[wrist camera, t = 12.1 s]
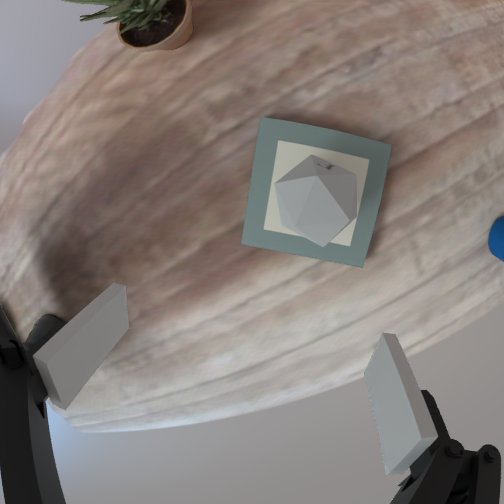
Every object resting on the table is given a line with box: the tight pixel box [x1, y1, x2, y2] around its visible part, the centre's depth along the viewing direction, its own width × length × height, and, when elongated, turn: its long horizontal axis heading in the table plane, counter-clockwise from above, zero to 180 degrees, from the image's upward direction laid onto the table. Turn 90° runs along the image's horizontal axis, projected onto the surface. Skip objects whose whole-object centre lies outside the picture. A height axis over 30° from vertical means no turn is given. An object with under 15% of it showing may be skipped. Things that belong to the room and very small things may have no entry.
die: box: [274, 154, 357, 247], centre depth 30 cm, size 8×9×10 cm
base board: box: [241, 117, 392, 268], centre depth 35 cm, size 16×16×2 cm
